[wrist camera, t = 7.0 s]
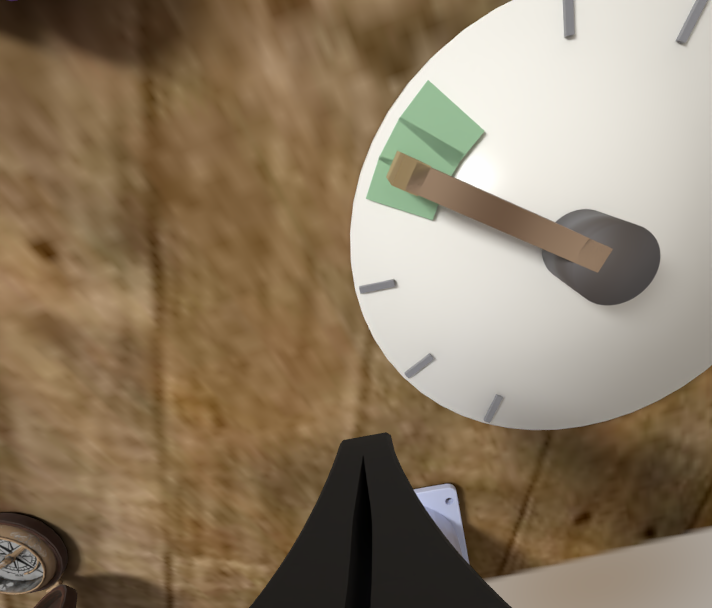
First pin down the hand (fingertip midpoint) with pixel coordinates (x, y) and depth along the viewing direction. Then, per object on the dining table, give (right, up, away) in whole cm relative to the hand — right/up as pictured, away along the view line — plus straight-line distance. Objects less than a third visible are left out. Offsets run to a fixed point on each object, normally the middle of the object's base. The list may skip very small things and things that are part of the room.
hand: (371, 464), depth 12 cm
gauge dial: (+9, +7, +8) cm, 15 cm away
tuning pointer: (+6, +8, +7) cm, 12 cm away
